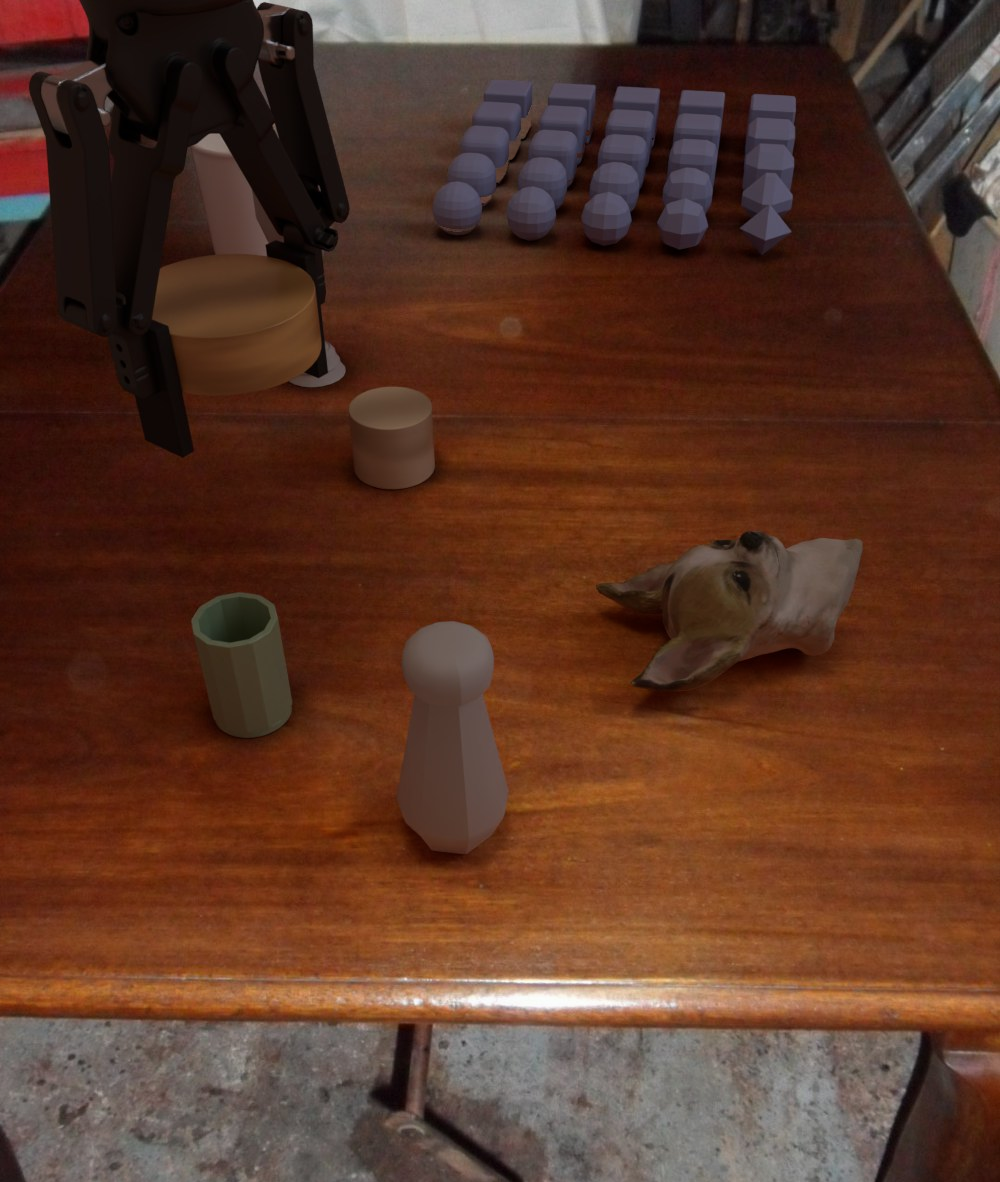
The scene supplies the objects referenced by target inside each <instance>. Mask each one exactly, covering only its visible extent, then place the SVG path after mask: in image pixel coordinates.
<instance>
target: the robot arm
mask: <svg viewBox="0 0 1000 1182" xmlns="http://www.w3.org/2000/svg"><path fill="white" fill-rule="evenodd" d="M78 1H79V3H80V5H81V7H82V9H83V11H84V13H85V16H86V18H87V22H88V43H87V50H86V61H85V62H83V63H81V64H79V65H77V66H75V67H73V68H71V69H69V70H67V71H65V72H63V73H61V74H57V75H55V74H51V73H48V72H45V71H36V72H35V73H34V74H32V75H31V77H30V79H29V82H28V92H29V95H30V98H31V101H32V105H33V107H34V109H35V113H36V115H37V118H38V121H39V123H40V126H41V130H42V131H43V135H44V138H45V148H46V149H45V151H46V162H47V175H48V176H47V178H48V190H49V191H48V193H49V204H50V206H49V207H50V218H51V232H52V234H51V235H52V246H53V247H52V249H53V259H54V260H53V261H54V273H55V274H54V276H55V286H56V288H55V289H56V302H57V311H58V315H59V316H60V319H61V320H62V321H64V322H66V323H69V324H71V325H74V326H76V327H78V328H81V329H83V330H85V331H87V332H90V333H93V334H95V335H97V336H99V337H102V338H107V341H108V345H109V349H110V353H111V357H112V363H113V366H114V370H115V373H116V378H117V382H118V384H119V385H120V386H121V388H122V389H123V391H125V392H127V393H129V394H130V395H133V396H134V399H135V402H136V407H137V411H138V415H139V420H140V424H141V428H142V432H143V436H144V440H145V441H146V442H148V443H151V444H152V445H155V446H156V447H159V448H161V449H163V450H165V451H167V452H170V453H172V454H174V455H176V456H178V457H180V458H182V459H183V458H185V457H187V456H189V455H190V454H192V453H194V452H195V449H194V443H193V438H192V434H191V433H192V432H191V429H190V424H189V419H188V414H187V410H186V405H185V399H184V393H182V389H181V385H180V380H179V375H178V370H177V365H176V360H175V356H174V351H173V346H172V341H171V336H170V331H169V327H168V326H167V325H165V324H162V323H160V322H157V321H155V320H152V316H153V309H154V303H155V297H156V290H157V284H158V278H159V271H160V268H161V264H162V257H163V252H164V246H165V239H166V234H167V227H168V219H169V214H170V208H171V201H172V195H173V189H174V183H175V179H176V178H177V177H178V176H179V175H181V174H182V173H183V171H184V170H185V166H186V161H187V160H186V159H187V155H188V148H190V146H193V145H195V144H197V143H198V142H200V141H201V140H202V139H203V138H205V137H206V136H207V135H208V134H220V135H221V137H222V139H223V140H224V142H225V144H226V146H227V147H228V149H229V151H230V153H231V154H232V156H233V158H234V159H235V161H236V163H237V165H238V166H239V168H240V170H241V171H242V173H243V175H244V177H245V178H246V180H247V182H248V183H249V185H250V187H251V189H252V190H253V192H254V194H255V196H256V197H257V199H258V201H259V202H260V204H261V206H262V208H263V209H264V211H265V213H266V214H267V216H268V218H269V220H270V221H271V223H272V225H273V226H274V228H275V230H276V232H277V233H278V234H279V235H280V236H283V237H284V243H283V242H280V241H277V240H275V241H273V242H271V243H268V244H266V245H265V246H266V253H267V256H268V257H272V258H277V259H280V260H284V261H287V262H289V263H292V264H294V265H296V266H298V267H300V268H301V269H303V270H304V271H305V272H307V273H308V275H309V276H310V277H311V278H312V280H313V282H314V284H315V289H316V298H317V307H318V316H319V325H320V334H321V342H322V344H321V351H320V354H319V356H318V358H317V360H316V361H315V362H314V364H313V365H312V366H311V367H310V368H309V369H307V370H306V371H305V372H304V373H306V374H309V375H311V376H314V377H316V378H320V377H322V376H324V375H325V374H327V373H328V367H327V357H326V348H325V341H326V339H325V332H324V323H323V313H322V306H321V305H323V304H325V303H326V297H327V285H326V282H325V281H326V278H325V268H324V258H323V257H324V256H323V257H322V250H324V251H325V252H328V253H331V252H332V251H333V250H335V249H336V247H337V245H338V241H339V232H338V230H337V229H335V228H333V227H332V228H329V227H330V226H331V225H332V224H333V225H334V223H336V224H343V223H344V222H345V221H346V220H347V219H348V217H349V215H350V210H351V208H350V207H351V206H350V202H349V198H348V194H347V190H346V186H345V183H344V179H343V175H342V171H341V167H340V163H339V159H338V155H337V151H336V146H335V147H334V143H333V139H332V136H333V135H332V132H331V128H330V125H329V121H328V116H327V113H326V109H325V105H324V100H323V97H322V93H321V90H320V86H319V82H318V77H317V73H316V69H315V63H314V62H315V61H314V59H315V57H314V24H313V23H314V22H313V18H312V16H311V14H310V13H309V12H308V11H307V10H302V9H298V8H293V7H290V6H284V5H281V4H276V3H271V2H268V1H263V2H260V3H259V5H258V6H257V7H256V3H255V2H254V0H78ZM257 63H258V64H257ZM257 65H258V70H259V74H260V78H261V82H262V85H263V88H264V93H265V96H266V98H265V96H264V95H263V92H262V90H261V89H260V87H259V84H258V83H257V81H256V79H255V77H254V75H255V74H254V73H255V71H256V67H257ZM107 98H108V99H109V101H111V102H112V104H113V108H112V114H111V113H110V112H109V111H108V110H106V100H107ZM266 99H267V100H266ZM274 123H275V126H276V130H277V133H278V136H279V138H278V136H277V134H276V132H275V130H274V128H273V124H274ZM109 125H110V128H109V129H110V130H109V137H108V138H109V139H108V138H107V133H106V130H105V127H108V126H109ZM331 135H332V136H331ZM141 136H143V137H146V139H149V140H151V141H154V142H156V144H155V146H154V147H151V146H147V145H145V144H144V143H142V137H141ZM110 156H112V158H113V167H112V174H111V157H110ZM318 185H319V186H320V190H321V191H320V190H319V188H318ZM333 225H332V226H333Z"/></svg>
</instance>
